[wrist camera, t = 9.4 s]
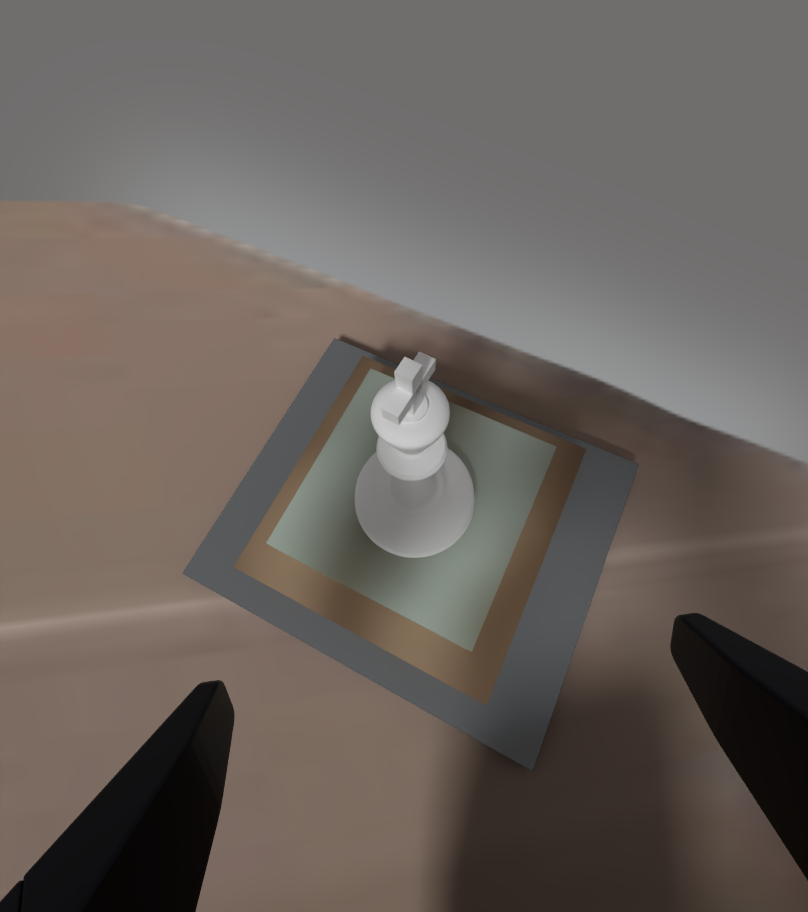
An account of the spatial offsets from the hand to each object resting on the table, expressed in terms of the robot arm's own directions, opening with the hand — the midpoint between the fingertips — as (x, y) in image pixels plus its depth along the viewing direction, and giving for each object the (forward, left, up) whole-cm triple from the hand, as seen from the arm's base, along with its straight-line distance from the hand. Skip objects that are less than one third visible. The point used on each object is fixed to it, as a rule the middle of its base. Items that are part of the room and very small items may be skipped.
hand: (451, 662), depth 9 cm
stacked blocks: (+6, -2, -13) cm, 15 cm away
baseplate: (+6, -2, -13) cm, 15 cm away
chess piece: (+5, -2, -9) cm, 10 cm away
